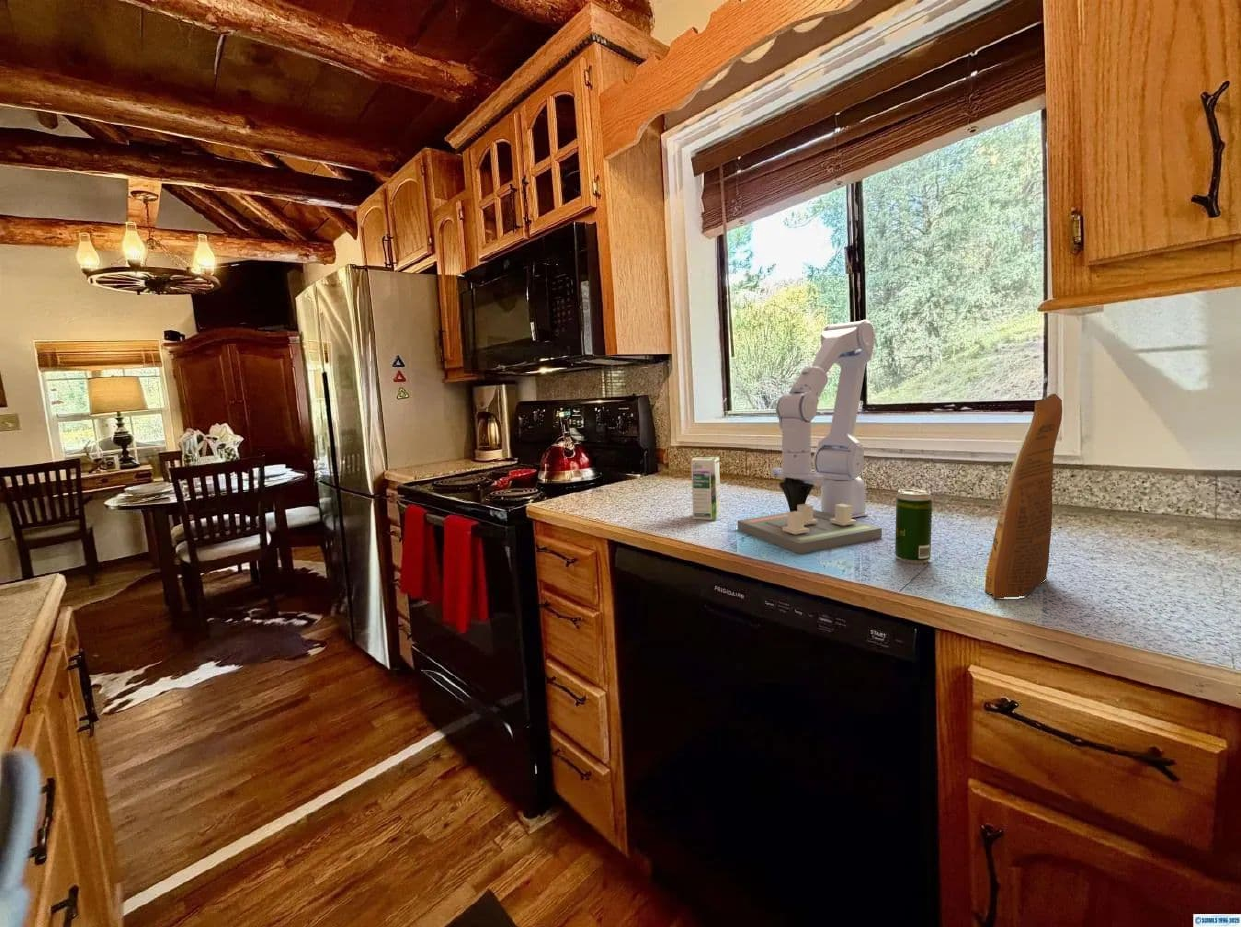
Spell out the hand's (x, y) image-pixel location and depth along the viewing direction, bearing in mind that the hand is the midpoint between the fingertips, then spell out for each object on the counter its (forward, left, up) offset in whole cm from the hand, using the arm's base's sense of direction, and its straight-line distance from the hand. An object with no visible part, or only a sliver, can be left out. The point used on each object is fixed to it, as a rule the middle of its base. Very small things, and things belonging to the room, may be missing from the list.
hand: (796, 514), depth 114 cm
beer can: (-4, +25, -4) cm, 25 cm away
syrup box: (+10, -20, -4) cm, 23 cm away
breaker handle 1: (+6, +7, -1) cm, 9 cm away
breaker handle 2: (-6, +7, -1) cm, 9 cm away
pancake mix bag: (-7, +41, -4) cm, 42 cm away
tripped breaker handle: (0, +3, -1) cm, 3 cm away
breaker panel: (0, +3, -3) cm, 4 cm away
